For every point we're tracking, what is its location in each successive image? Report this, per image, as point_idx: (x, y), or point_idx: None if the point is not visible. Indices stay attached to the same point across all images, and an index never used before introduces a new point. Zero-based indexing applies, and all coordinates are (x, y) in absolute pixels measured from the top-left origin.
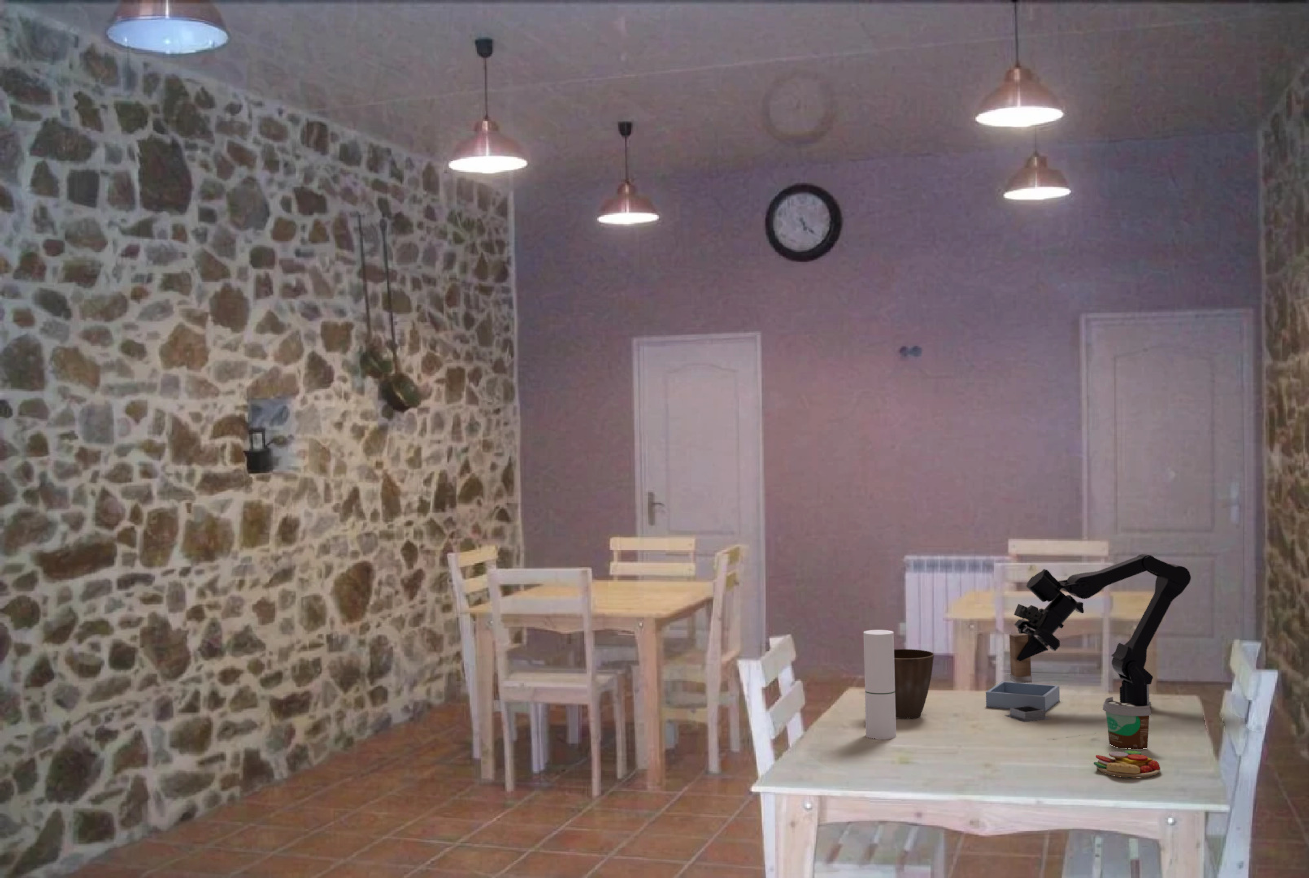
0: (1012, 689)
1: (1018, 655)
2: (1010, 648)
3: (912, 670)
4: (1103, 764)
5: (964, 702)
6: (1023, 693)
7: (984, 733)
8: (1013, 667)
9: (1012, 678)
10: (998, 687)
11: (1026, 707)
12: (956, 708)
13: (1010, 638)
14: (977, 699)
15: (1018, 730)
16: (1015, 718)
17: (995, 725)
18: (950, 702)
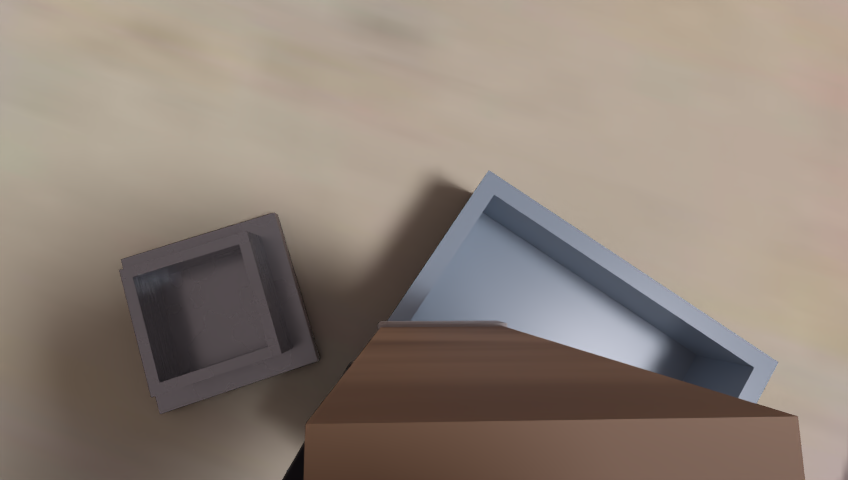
0: None
1: None
2: (568, 355)
3: None
4: None
5: (629, 142)
6: None
7: (11, 36)
8: (437, 332)
9: (453, 322)
10: (640, 295)
11: (265, 328)
12: (510, 71)
13: (638, 390)
14: (686, 220)
15: (23, 194)
16: (203, 243)
17: (145, 128)
18: (636, 83)
